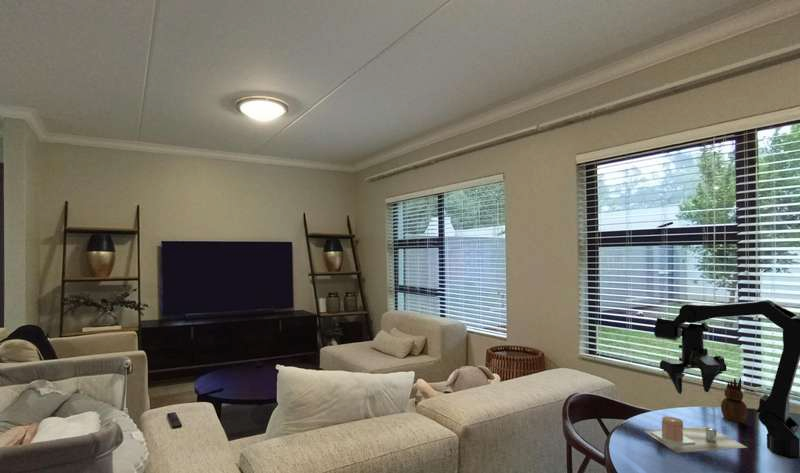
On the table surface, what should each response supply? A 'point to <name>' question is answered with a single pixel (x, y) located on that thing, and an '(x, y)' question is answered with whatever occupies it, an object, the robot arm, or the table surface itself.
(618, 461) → the table surface
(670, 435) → the cap
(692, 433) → the board
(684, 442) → the pad
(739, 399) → the wooden figurine
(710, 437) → the silver metal cylinder
